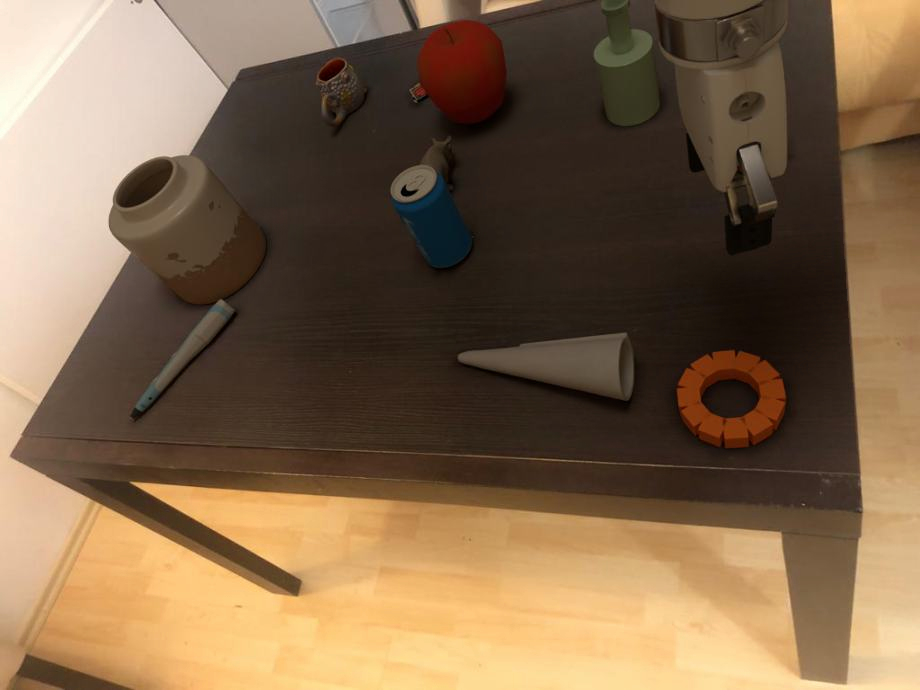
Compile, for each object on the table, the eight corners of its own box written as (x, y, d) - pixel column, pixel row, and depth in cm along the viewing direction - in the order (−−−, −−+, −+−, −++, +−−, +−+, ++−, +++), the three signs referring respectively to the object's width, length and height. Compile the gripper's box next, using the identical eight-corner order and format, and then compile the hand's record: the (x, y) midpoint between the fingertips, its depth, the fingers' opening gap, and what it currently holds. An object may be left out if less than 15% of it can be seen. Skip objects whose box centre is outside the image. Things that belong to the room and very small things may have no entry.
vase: (186, 242, 107) (108, 163, 94) (271, 213, 103) (202, 126, 90) (170, 317, 98) (81, 241, 85) (262, 288, 94) (184, 204, 81)
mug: (338, 92, 116) (319, 58, 111) (373, 86, 113) (355, 51, 108) (316, 140, 110) (295, 107, 105) (352, 135, 107) (332, 101, 102)
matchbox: (443, 84, 106) (442, 82, 106) (419, 104, 106) (418, 102, 105) (427, 76, 109) (426, 74, 109) (403, 96, 108) (402, 93, 108)
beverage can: (416, 260, 87) (376, 193, 78) (449, 225, 89) (413, 156, 79) (450, 278, 83) (412, 211, 74) (484, 242, 85) (451, 171, 75)
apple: (464, 156, 95) (427, 71, 84) (427, 120, 103) (389, 38, 92) (536, 107, 96) (508, 16, 85) (494, 75, 103) (464, -12, 92)
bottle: (652, 83, 90) (637, -26, 79) (666, 114, 86) (653, 5, 75) (600, 101, 92) (578, -3, 80) (612, 133, 88) (591, 28, 76)
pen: (227, 306, 95) (214, 294, 93) (240, 314, 93) (227, 301, 91) (129, 417, 89) (113, 407, 87) (141, 427, 87) (125, 417, 85)
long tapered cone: (432, 382, 70) (615, 376, 61) (449, 335, 74) (624, 323, 65) (455, 414, 74) (629, 413, 65) (470, 367, 78) (637, 360, 69)
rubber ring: (662, 424, 64) (660, 414, 62) (703, 349, 67) (702, 338, 65) (759, 464, 59) (760, 454, 57) (800, 381, 62) (801, 369, 60)
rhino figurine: (471, 152, 95) (456, 118, 91) (439, 227, 89) (422, 194, 84) (445, 153, 97) (429, 120, 92) (412, 226, 91) (394, 194, 86)
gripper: (845, 66, 36) (820, 269, 49) (736, -76, 46) (739, 123, 59) (700, 115, 37) (713, 299, 51) (626, -33, 48) (653, 152, 61)
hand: (727, 204), depth 55 cm, fingers open, 9 cm apart
